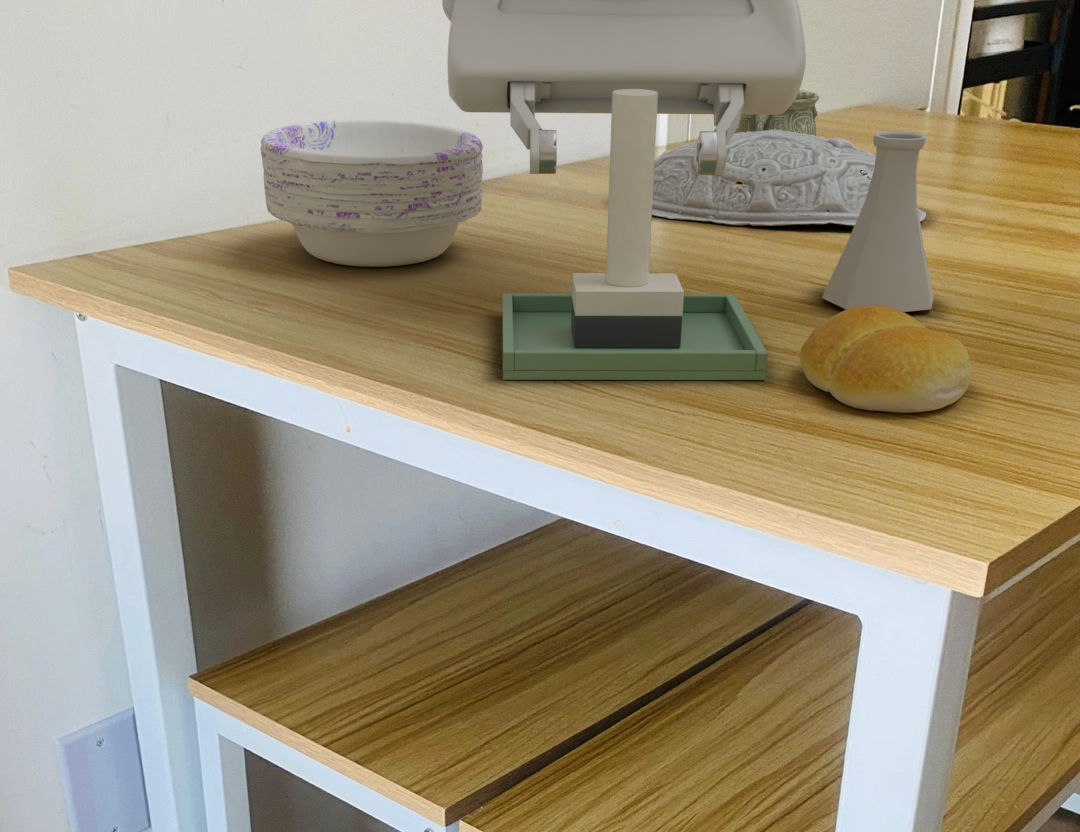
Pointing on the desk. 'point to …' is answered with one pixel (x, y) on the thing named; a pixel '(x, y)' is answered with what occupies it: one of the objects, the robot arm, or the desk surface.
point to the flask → (886, 236)
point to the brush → (629, 245)
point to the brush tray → (705, 353)
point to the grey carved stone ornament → (767, 181)
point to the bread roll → (885, 361)
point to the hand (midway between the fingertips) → (627, 168)
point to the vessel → (785, 117)
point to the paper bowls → (372, 188)
